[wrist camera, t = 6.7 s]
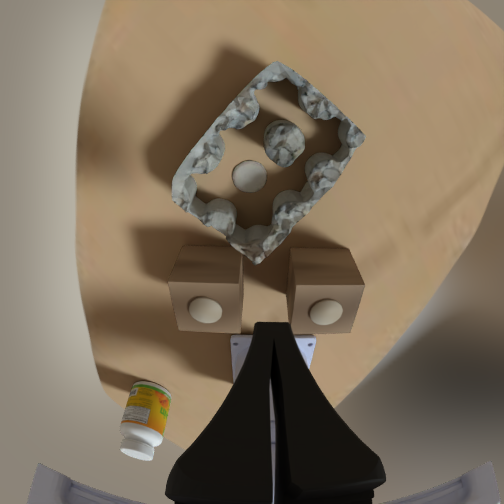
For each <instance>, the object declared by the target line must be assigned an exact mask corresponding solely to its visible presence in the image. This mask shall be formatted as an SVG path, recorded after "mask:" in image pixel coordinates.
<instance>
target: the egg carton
mask: <svg viewBox="0 0 504 504" xmlns="http://www.w3.org/2000/svg"><path fill="white" fill-rule="evenodd" d="M285 78H287V79H288V80H289V81H290V82H291V83H292V84H294V85H296V86H297V89H298V91H299V92H298V102H299V105H300V107H301V108H302V110H303V111H305V112H306V113H307V114H308V115H310V116H311V117H312V118H314V119H316V118H321V119H323V120H329V119H331V118H333V117H337V118H338V119H340V120H341V123H340V125H339V128H338V137H339V139H340V141H341V143H342V145H341V147H340V149H339V150H338V151H337V152H336V153H335V154H334V155H333V156H332V155H330V154H328V153H316V154H314V155H312V156H311V157H310V158H309V159H308V160H307V162H306V165H305V174H306V177H307V180H308V181H307V182H306V184H305V185H304V187H303V189H302V190H301V192H298V191H295V190H286V191H282V192H280V193H279V194H278V195H277V196H276V197H275V199H274V202H273V217H272V224H270V225H269V226H264V225H254V226H252V227H250V228H248V229H246V230H244V229H243V228H241V227H240V226H238V225H237V224H236V217H237V211H236V208H235V206H234V205H233V204H232V203H231V202H230V201H228V200H226V199H222V198H217V199H213V200H211V201H210V202H208V203H207V204H206V203H204V202H202V201H201V200H200V199H199V198H197V197H196V190H197V184H196V181H195V180H194V178H193V177H192V176H191V175H190V174H192V173H199V174H204V173H206V174H207V173H208V172H210V171H212V170H214V169H215V168H216V167H217V166H218V164H219V162H220V161H221V159H222V156H223V155H224V151H225V143H224V140H223V139H222V137H221V136H220V134H219V132H220V131H221V130H226V129H228V128H236V129H242V128H243V127H244V126H246V125H247V124H249V123H251V122H253V121H254V120H255V119H256V117H257V115H258V113H259V104H258V102H257V99H256V96H255V95H254V91H255V90H256V89H264V88H265V87H266V86H267V82H278V81H281V80H284V79H285ZM301 130H302V129H301ZM365 137H366V136H365V135H364V134H363V133H362V132H361V130H359V128H358V127H357V126H356V125H355V124H354V123H353V122H352V121H351V120H350V119H349V118H348V117H346V116H345V115H344V114H343V113H342V112H341V111H340V110H339V109H338V108H337V107H336V106H335V105H334V104H333V103H332V102H331V101H330V100H328V99H327V98H326V97H325V96H324V95H323V94H322V93H320V92H319V91H318V90H317V89H316V88H315V87H313V86H312V85H311V84H310V83H309V82H308V81H307V80H306V79H304V78H303V77H302V76H300V75H299V74H298V73H296V72H295V71H294V70H292V69H291V68H289V67H287V66H286V65H284V64H282V63H280V62H278V61H276V62H273V63H272V64H270V65H269V66H268V67H266V68H265V69H264V70H263V71H261V72H260V73H259V74H258V75H257V76H256V77H255V78H254V79H253V80H252V81H251V82H250V83H249V84H248V85H247V86H246V87H245V88H244V89H243V90H242V91H241V92H240V93H239V95H238V96H237V97H236V98H235V99H234V100H233V101H232V102H231V103H230V104H229V106H228V107H227V108H226V109H225V111H224V112H223V113H222V114H221V115H220V116H219V117H218V118H217V119H216V120H215V121H214V123H213V124H212V126H211V127H210V128H209V129H208V130H207V132H206V133H205V134H204V135H203V136H202V138H201V139H200V140H199V141H198V143H197V144H196V145H195V146H194V148H193V149H192V150H191V151H190V152H189V154H188V155H187V157H186V158H185V160H184V161H183V163H182V164H181V166H180V167H179V169H178V170H177V172H176V174H175V176H174V178H173V181H172V200H173V201H174V202H175V203H176V204H178V205H179V206H180V207H181V208H182V209H183V210H184V211H185V212H189V213H191V214H192V215H194V216H195V217H197V218H198V219H199V220H200V221H201V222H202V223H203V224H204V225H205V226H207V227H210V225H211V226H212V227H214V228H215V229H216V230H218V231H219V232H221V233H222V234H224V235H225V236H226V239H227V240H228V242H229V243H230V244H231V245H232V246H233V247H234V248H235V249H236V250H238V251H239V252H241V253H242V254H244V255H245V256H246V257H248V258H249V259H250V260H251V261H253V262H252V263H253V264H254V265H257V264H259V263H261V261H262V260H263V259H264V258H265V257H268V256H269V255H270V254H271V253H272V252H273V250H274V249H275V248H276V247H278V246H279V245H280V244H281V243H282V241H283V240H284V239H285V238H286V237H287V236H288V235H289V233H290V232H291V229H292V227H293V226H294V225H295V224H296V223H297V222H298V221H299V220H300V219H302V218H303V217H304V216H305V215H306V214H307V213H309V211H310V210H311V208H312V206H313V205H314V204H315V203H316V202H317V201H318V200H319V199H320V198H321V197H322V196H323V195H324V194H325V193H326V192H327V191H328V190H330V189H331V188H332V187H333V185H334V184H335V182H336V181H337V179H338V178H339V176H340V175H341V173H342V172H343V170H344V168H345V166H346V165H347V163H348V162H349V161H350V159H351V157H352V155H353V153H354V151H355V149H356V148H357V147H359V146H361V144H362V143H363V142H364V140H365ZM264 148H265V153H266V154H267V156H268V157H269V158H270V159H271V160H272V161H273V162H275V163H276V164H277V165H279V166H281V167H288V166H290V165H292V164H293V162H294V161H295V159H296V158H297V157H298V156H299V155H300V154H301V153H302V152H303V150H304V149H305V139H304V135H303V134H302V132H301V131H300V129H299V128H298V126H296V125H295V124H294V123H292V122H290V121H287V120H277V121H274V122H272V123H270V124H269V125H268V126H267V128H266V130H265V133H264ZM266 181H267V173H266V170H265V168H264V167H263V165H262V164H260V163H258V162H256V161H251V160H248V161H244V162H242V163H240V164H238V165H237V166H236V168H235V169H234V171H233V182H234V184H235V186H236V187H237V188H238V189H239V190H241V191H243V192H249V193H253V192H256V191H259V190H260V189H261V188H263V186H264V185H265V184H266Z"/></svg>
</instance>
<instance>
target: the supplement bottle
mask: <svg viewBox="0 0 504 504" xmlns="http://www.w3.org/2000/svg"><path fill="white" fill-rule="evenodd" d="M170 403H171V394H170V393H169V392H168V391H167V390H166V389H165V388H164V387H162V386H160V385H158V384H155V383H152V382H147V381H139V382H136V383H135V384H134V385H133V386H132V389H131V392H130V395H129V398H128V402H127V405H126V408H125V412H124V415H123V418H122V422H121V426H120V431H121V434H122V435H123V436H124V437H125V439H123V440H122V442H121V447H120V450H121V451H122V452H123V453H124V454H127V455H128V456H131V457H134V458H137V459H140V460H147V461H149V460H152V459H153V455H154V448H153V446H158V445H160V444H161V442H162V440H163V435H164V430H165V425H166V421H167V416H168V411H169V407H170Z"/></svg>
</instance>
